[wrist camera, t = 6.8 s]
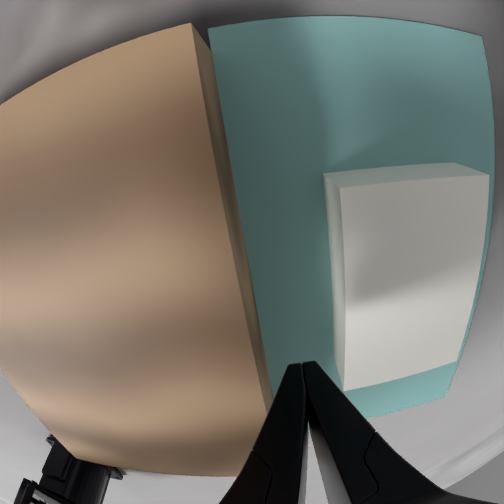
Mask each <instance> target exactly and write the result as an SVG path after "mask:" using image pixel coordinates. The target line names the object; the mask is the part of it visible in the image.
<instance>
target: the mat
mask: <svg viewBox="0 0 504 504" xmlns="http://www.w3.org/2000/svg"><path fill="white" fill-rule="evenodd" d="M208 34H209V40H210V46H211V52H212V58H213V64H214V69H215V75H216V81H217V87H218V93H219V99H220V104H221V110H222V116H223V122H224V127H225V133H226V139H227V145H228V150H229V156H230V162H231V167H232V173H233V179H234V184H235V190H236V196H237V201H238V207H239V213H240V218H241V224H242V230H243V235H244V241H245V246H246V252H247V257H248V263H249V269H250V274H251V280H252V285H253V291H254V296H255V302H256V307H257V313H258V318H259V324H260V329H261V335H262V340H263V345H264V351H265V356H266V362H267V367H268V373H269V378H270V383H271V389H272V394H273V400H274V397H275V395H276V393H277V390H278V388H279V385H280V383H281V380H282V378H283V375H284V373H285V370H286V368H287V366H288V364H292V363H301V364H302V363H303V362H306V361H313V360H314V361H316V362H317V363H318V364H319V365H320V366H321V367H322V369H323V370H324V371H325V372H326V373H327V374H328V376H329V377H330V378H331V379H332V380H333V382H334V383H335V384H336V385H337V386H338V387H339V389H340V390H341V391H342V392H343V393H344V394H345V396H346V397H347V398H348V399H349V400H350V401H351V402H352V404H353V405H354V406H355V407H356V408H357V409H358V411H359V412H360V413H361V414H362V415H363V416H364V417H365V419H367V418H372V417H376V416H380V415H384V414H388V413H392V412H396V411H399V410H403V409H406V408H410V407H413V406H417V405H420V404H423V403H426V402H429V401H432V400H435V399H438V398H441V397H444V396H445V395H446V393H447V390H448V388H449V386H450V383H451V381H452V378H453V376H454V373H455V370H456V368H457V365H458V362H459V359H460V357H461V354H462V351H463V348H464V345H465V342H466V339H467V335H468V332H469V329H470V325H471V322H472V318H473V315H474V311H475V307H476V303H477V299H478V295H479V291H480V286H481V282H482V277H483V272H484V267H485V261H486V256H487V249H488V243H489V236H490V228H491V219H492V209H493V197H494V178H495V135H494V116H493V104H492V95H491V86H490V79H489V72H488V66H487V60H486V55H485V50H484V45H483V40H482V36H479V35H475V34H471V33H467V32H463V31H459V30H455V29H450V28H446V27H441V26H435V25H430V24H424V23H418V22H411V21H404V20H395V19H385V18H373V17H356V16H307V17H289V18H276V19H266V20H258V21H250V22H243V23H236V24H230V25H224V26H219V27H214V28H209V29H208ZM451 162H454V163H457V164H460V165H463V166H466V167H469V168H472V169H475V170H478V171H480V172H483V173H486V174H488V175H489V196H488V211H487V222H486V231H485V240H484V247H483V254H482V260H481V266H480V272H479V277H478V282H477V287H476V292H475V296H474V301H473V305H472V309H471V313H470V317H469V321H468V325H467V328H466V332H465V335H464V339H463V342H462V345H461V348H460V352H459V355H458V358H457V361H455V362H452V363H449V364H446V365H443V366H440V367H437V368H434V369H431V370H428V371H424V372H421V373H418V374H414V375H411V376H407V377H403V378H400V379H396V380H392V381H388V382H384V383H380V384H376V385H371V386H367V387H362V388H358V389H353V390H348V391H343V388H342V384H341V380H340V376H339V373H338V369H337V365H336V362H335V358H334V340H333V303H332V281H331V263H330V248H329V235H328V223H327V211H326V201H325V191H324V182H323V173H332V172H340V171H349V170H359V169H369V168H379V167H390V166H403V165H416V164H432V163H451ZM308 429H309V424H308Z"/></svg>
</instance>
